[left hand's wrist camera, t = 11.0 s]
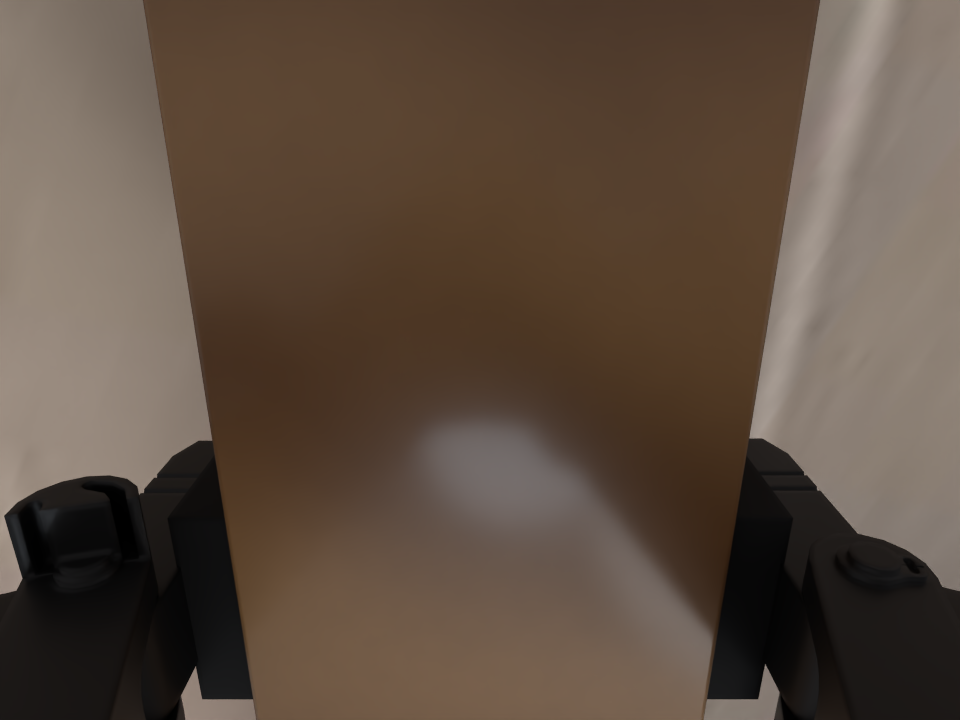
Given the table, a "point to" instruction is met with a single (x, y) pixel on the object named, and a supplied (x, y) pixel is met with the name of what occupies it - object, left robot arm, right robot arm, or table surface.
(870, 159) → the table surface
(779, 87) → the post
